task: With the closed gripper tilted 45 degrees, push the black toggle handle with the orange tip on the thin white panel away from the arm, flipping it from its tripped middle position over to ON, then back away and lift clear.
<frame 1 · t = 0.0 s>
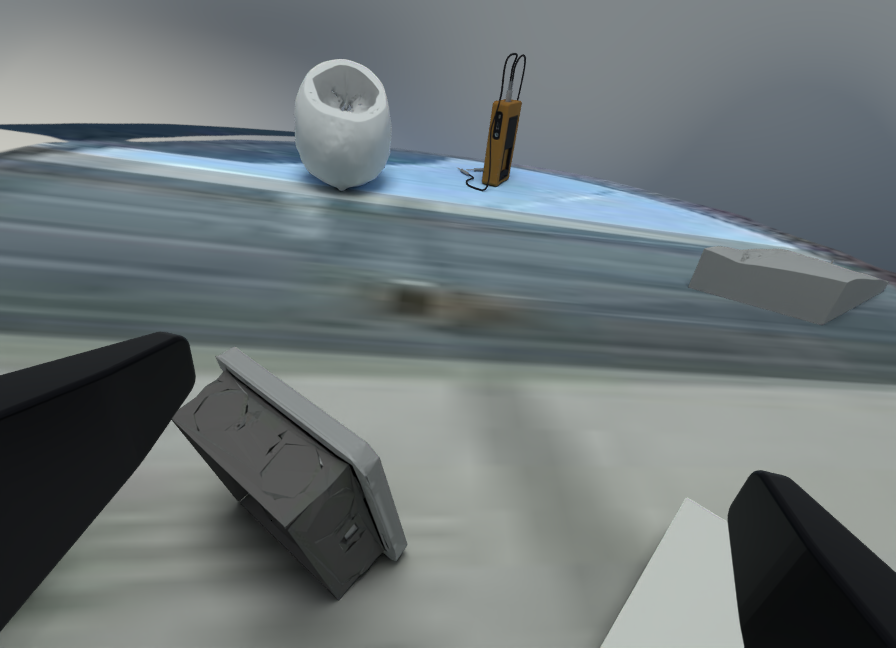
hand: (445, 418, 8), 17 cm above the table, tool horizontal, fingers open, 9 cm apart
skull planter: (344, 180, 77), on the table
multimeter: (476, 179, 86), on the table
ramp: (788, 294, 58), on the table
electrical switch: (305, 538, 24), on the table
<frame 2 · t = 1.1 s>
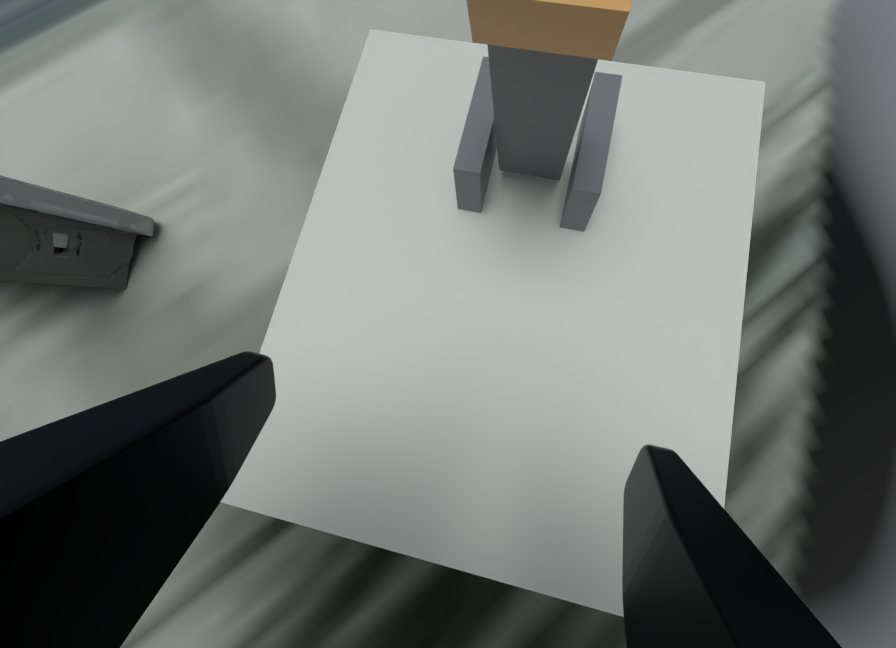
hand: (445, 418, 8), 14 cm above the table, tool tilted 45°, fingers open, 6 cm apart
thin white panel: (525, 203, 23), on the table
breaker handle: (540, 92, 14), point 9 cm above the table, hinge at -15.0°
electrical switch: (73, 262, 25), on the table
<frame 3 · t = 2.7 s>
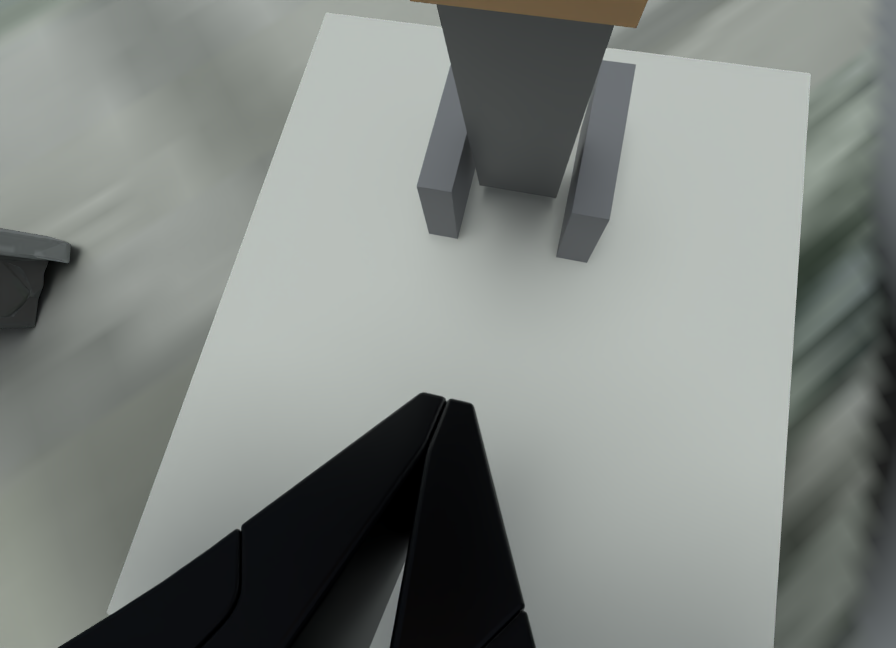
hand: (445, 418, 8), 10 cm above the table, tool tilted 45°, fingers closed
thin white panel: (515, 222, 19), on the table
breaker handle: (527, 84, 10), point 9 cm above the table, hinge at -15.0°
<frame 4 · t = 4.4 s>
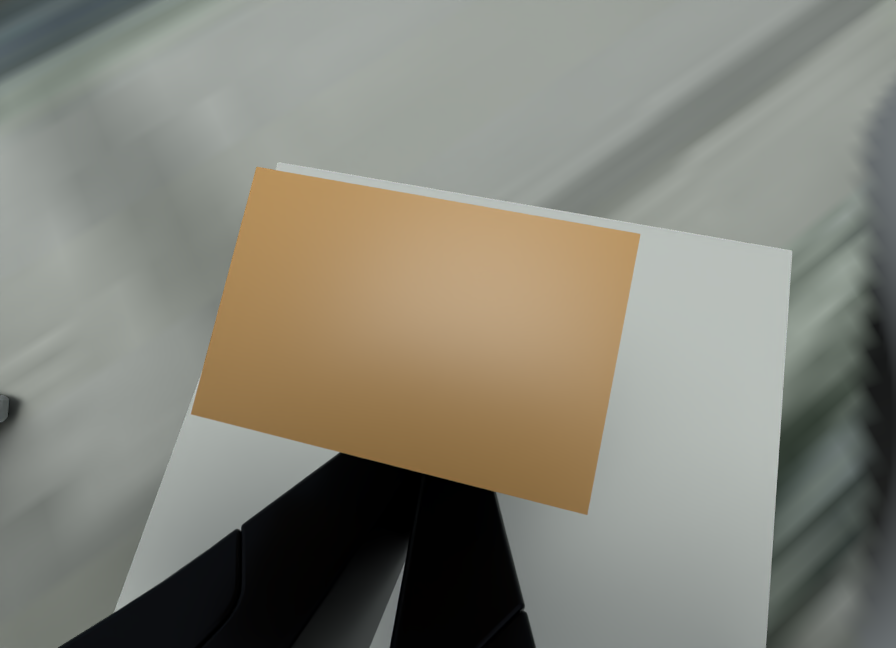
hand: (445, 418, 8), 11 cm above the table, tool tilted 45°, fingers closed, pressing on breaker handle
thin white panel: (480, 383, 18), on the table
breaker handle: (464, 358, 9), point 9 cm above the table, hinge at -8.7°, touching gripper
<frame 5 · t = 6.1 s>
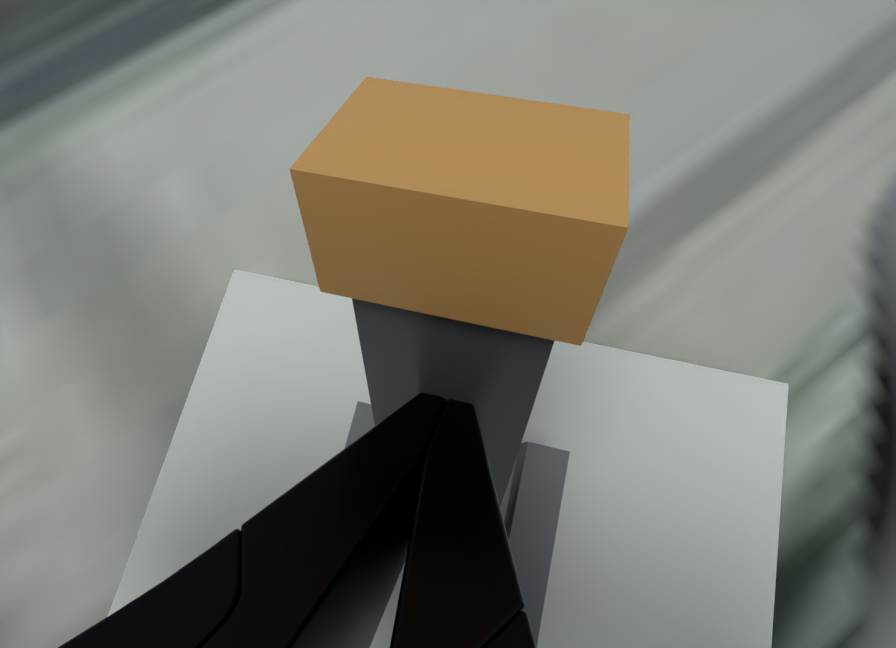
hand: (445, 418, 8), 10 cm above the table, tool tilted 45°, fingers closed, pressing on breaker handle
thin white panel: (453, 505, 17), on the table
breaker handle: (453, 413, 9), point 9 cm above the table, hinge at 25.6°, touching gripper
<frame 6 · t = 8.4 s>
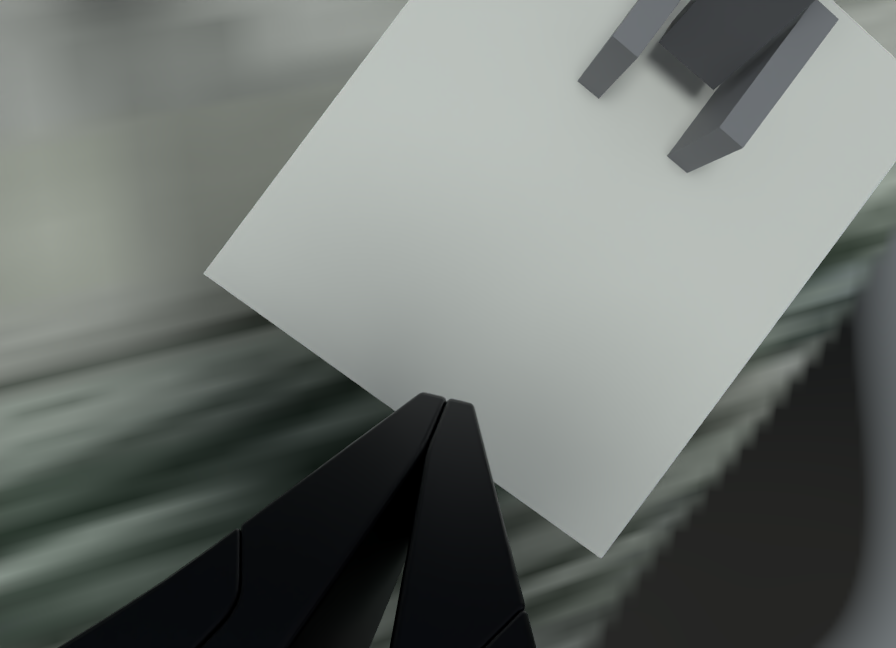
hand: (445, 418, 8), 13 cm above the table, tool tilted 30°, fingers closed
thin white panel: (635, 105, 21), on the table
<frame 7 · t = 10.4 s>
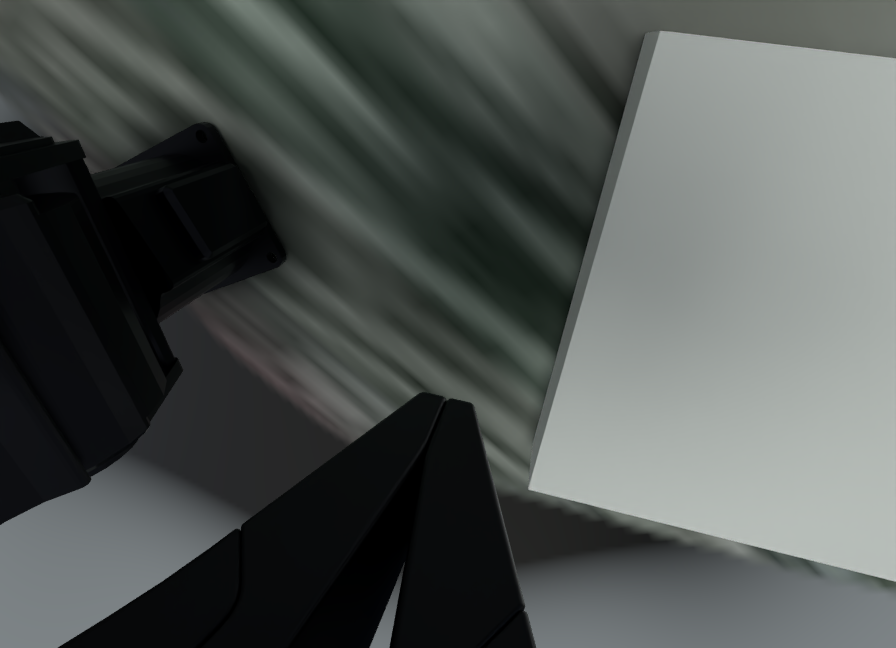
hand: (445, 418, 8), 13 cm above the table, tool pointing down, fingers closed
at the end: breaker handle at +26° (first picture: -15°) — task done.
